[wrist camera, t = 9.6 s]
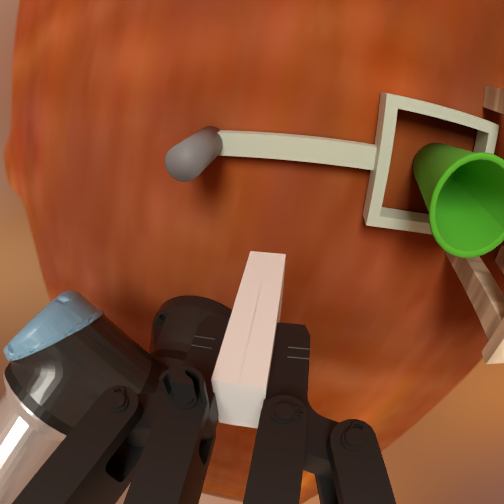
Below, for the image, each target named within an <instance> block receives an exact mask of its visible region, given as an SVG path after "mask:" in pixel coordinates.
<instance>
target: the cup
mask: <svg viewBox="0 0 504 504" xmlns="http://www.w3.org/2000/svg"><path fill="white" fill-rule="evenodd" d="M413 172H414V176H415V179H416V181H417V184H418V186H419V189H420V191H421V194H422V196H423V199H424V202H425V204H426V207H427V210H428V212H429V218H428V219H429V224H430V229H431V232H432V235H433V237H434V239H435V241H436V242H437V243H438V244H439V246H440V247H441V248H442V249H443V250H445V251H446V252H448V253H450V254H451V255H455V256H458V257H462V258H473V257H477V256H481V255H484V254H486V253H488V252H490V251H492V250H493V249H494V248H496V247H497V246H498V245H499V244H501V243H502V241H503V240H504V160H503V159H502V158H500V157H498V156H496V155H494V154H492V153H486V152H477V153H475V152H471V151H468V150H464V149H460V148H456V147H453V146H449V145H445V144H441V143H430V144H427V145H425V146H424V147H422V148H421V149H420V150H419V151H418V153H417V154H416V156H415V159H414V163H413Z"/></svg>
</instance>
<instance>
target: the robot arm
mask: <svg viewBox="0 0 504 504" xmlns="http://www.w3.org/2000/svg"><path fill="white" fill-rule="evenodd" d="M285 257H286V254H277V253H265V252H254V251H250V254H249V258H248V261H247V264H246V267H245V271H244V274H243V277H242V281H241V284H240V287H239V290H238V294H237V297H236V300H235V303H234V307H233V310H230V309H229V308H227V307H225V306H224V305H222V304H220V303H218V302H215V301H213V300H210V299H207V298H203V297H197V296H180V297H175V298H172V299H170V300H168V301H166V302H165V303H164V304H163V305H162V306H161V307H160V309H159V310H158V312H157V314H156V316H155V318H154V320H153V324H152V332H151V342H150V353H148V352H146V351H145V350H144V349H143V348H142V347H140V346H139V345H138V344H137V343H136V342H134V341H133V340H132V339H131V338H130V337H129V336H127V335H126V334H125V333H124V332H123V331H122V330H121V329H119V328H118V327H117V326H116V325H115V324H114V323H113V322H112V321H110V320H109V319H108V318H107V317H106V316H105V315H104V314H103V313H104V312H103V311H102V310H100V309H97V308H96V307H95V306H93V305H92V304H91V303H90V302H89V301H88V300H87V299H85V298H84V297H83V296H82V295H81V294H80V293H78V292H76V291H73V290H68V291H64V292H62V293H61V294H59V295H58V296H57V297H56V298H54V299H53V300H52V301H51V302H50V303H49V304H48V305H47V306H46V307H44V308H43V309H42V310H41V311H40V312H39V313H38V314H37V315H36V316H35V317H34V318H33V319H32V320H31V321H30V322H29V323H28V324H27V325H26V326H25V327H24V328H23V329H22V330H21V331H20V332H19V333H18V334H17V335H16V336H15V337H14V338H13V339H12V340H11V341H10V342H9V344H8V345H7V346H5V348H4V354H5V355H6V358H7V359H8V360H9V361H11V362H10V363H9V365H8V366H7V367H6V369H5V371H4V373H3V377H4V382H5V386H6V393H5V394H4V396H3V398H2V399H1V400H0V504H115V503H116V502H117V501H118V499H119V498H120V496H121V495H122V494H123V492H124V491H125V489H126V488H127V487H128V485H129V484H130V482H131V484H130V487H129V490H128V492H127V495H126V498H125V501H124V503H123V504H198V503H199V499H200V496H201V492H202V488H203V484H204V481H205V477H206V473H207V469H208V465H209V461H210V458H211V454H212V450H213V446H214V442H215V438H216V431H215V430H216V426H217V422H218V419H219V423H225V424H231V425H237V426H244V427H251V428H258V429H257V435H256V440H255V445H254V450H253V456H252V461H251V466H250V471H249V476H248V481H247V486H246V491H245V496H244V501H243V504H299V499H300V490H301V482H302V473H303V470H305V471H308V472H311V473H313V474H315V478H316V483H317V489H318V494H319V499H320V504H396V502H395V498H394V495H393V492H392V488H391V484H390V481H389V477H388V474H387V470H386V467H385V464H384V460H383V458H382V454H381V451H380V447H379V444H378V441H377V438H376V435H375V433H374V431H373V429H372V427H371V426H369V425H368V424H367V423H366V422H364V421H360V420H357V419H348V420H345V421H342V422H340V423H339V422H336V421H333V420H330V419H327V418H325V417H322V416H320V415H319V414H317V413H316V412H315V411H314V410H313V409H312V408H311V406H310V404H309V402H308V397H307V390H308V374H309V354H310V335H309V333H308V331H307V328H306V326H305V325H299V324H288V323H279V321H280V314H281V306H282V296H283V284H284V271H285Z"/></svg>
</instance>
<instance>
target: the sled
mask: <svg viewBox="0 0 504 504" xmlns="http://www.w3.org/2000/svg"><path fill="white" fill-rule="evenodd" d="M398 109H402V110H407V111H411V112H416V113H420V114H424V115H428V116H432V117H436V118H440V119H444V120H447V121H451V122H455V123H458V124H461V125H465V126H468V127H471V128H474V129H478V130H477V135H476V141H475V146H474V151H473V152H475V153H477V152H486V153H492V154H494V151H495V146H496V141H497V136H498V130H499V125H497V124H495V123H493V122H490V121H488V120H485V119H482V118H479V117H476V116H473V115H470V114H467V113H464V112H461V111H458V110H454V109H451V108H447V107H444V106H440V105H437V104H433V103H429V102H425V101H421V100H417V99H413V98H408V97H404V96H399V95H394V94H390V93H384V92H381V94H380V104H379V113H378V122H377V130H376V138H375V145H374V144H368V143H361V142H355V141H348V140H340V139H332V138H324V137H315V136H305V135H294V134H283V133H269V132H252V131H227V130H219V129H218V128H216V127H212V126H209V127H205V128H203V129H201V130H199V131H198V132H196V133H195V134H193V135H191V136H190V137H188V138H186V139H185V140H183V141H182V142H180V143H179V144H177V145H175V146H174V147H172V148H171V149H170V150H169V151H168V153H167V155H166V158H165V166H166V169H167V171H168V173H169V174H170V175H171V176H172V177H173V178H174V179H176V180H178V181H182V182H187V181H191V180H193V179H195V178H196V177H197V176H198V175H199V174H200V173H201V172H202V171H203V170H204V169H205V168H206V167H207V166H208V165H209V164H210V163H211V162H212V161H213V160H214V159H215V158H216V157H217V156H239V157H255V158H269V159H281V160H292V161H303V162H312V163H321V164H330V165H338V166H346V167H353V168H360V169H367V170H371V171H370V177H369V183H368V189H367V195H366V200H365V205H364V211H363V217H364V220H365V224H366V226H374V227H382V228H389V229H397V230H404V231H411V232H418V233H425V234H432V232H431V229H430V224H429V219H428V218H429V214H424V213H417V212H411V211H405V210H398V209H391V208H385V207H382V202H383V197H384V192H385V187H386V182H387V177H388V171H389V166H390V160H391V154H392V148H393V141H394V134H395V127H396V120H397V112H398Z"/></svg>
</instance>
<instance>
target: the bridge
mask: <svg viewBox="0 0 504 504" xmlns="http://www.w3.org/2000/svg"><path fill="white" fill-rule="evenodd" d="M483 107H485V108H487V109H490V110H493V111H495V112H498V113H500V114H503V115H504V89H500V88H495V87H491V86H486V85H485V94H484V102H483ZM446 256H447V258H448V259H449V261H450V263H451V265H452V267H453V268H454V270H455V272H456V274H457V276H458V278H459V280H460V281H461V283H462V285H463V287H464V289H465V291H466V293H467V295H468V297H469V299H470V301H471V303H472V305H473V307H474V309H475V311H476V314H477V316H478V318H479V320H480V322H481V325H482V327H483V329H484V331H485V334H486V336H487V338H488V343H487V344H486V346H485V347H484V349H483V350H482V355H483V358H484V360H485V363H486V364H495V363H504V294H503V292H502V291H501V289H500V287H499V286H498V284H497V283H496V281H495V279H494V278H493V276H492V275H491V273H490V271H489V270H488V268H487V267H486V265H485V264H484V262H483V261H482V259H481V258H480V256H477V257H473V258H462V257H458V256H455V255H451V254H450V253H448V252H446ZM495 262H496V264H497V265H498V267H499V268H500V270H501V271H502V273H503V274H504V246H503V245H501V247H500V249H499V252H498V254H497V256H496V259H495Z"/></svg>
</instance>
